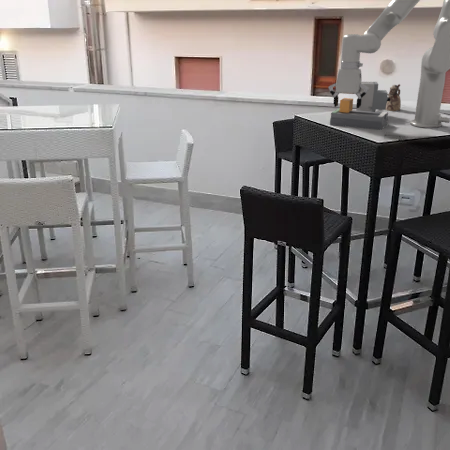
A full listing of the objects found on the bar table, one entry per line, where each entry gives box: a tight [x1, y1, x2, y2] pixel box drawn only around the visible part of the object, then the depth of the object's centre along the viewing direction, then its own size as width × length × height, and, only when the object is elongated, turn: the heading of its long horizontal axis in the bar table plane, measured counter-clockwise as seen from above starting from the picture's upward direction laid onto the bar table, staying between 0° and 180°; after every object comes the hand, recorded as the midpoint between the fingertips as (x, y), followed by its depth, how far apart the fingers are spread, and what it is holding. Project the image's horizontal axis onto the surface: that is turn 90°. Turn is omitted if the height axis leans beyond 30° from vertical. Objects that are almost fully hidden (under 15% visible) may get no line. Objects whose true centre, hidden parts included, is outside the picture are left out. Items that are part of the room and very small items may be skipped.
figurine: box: [385, 83, 402, 112], centre depth 238 cm, size 7×7×12 cm
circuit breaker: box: [355, 81, 390, 112], centre depth 225 cm, size 8×14×15 cm, turn 78°
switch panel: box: [329, 107, 389, 130], centre depth 211 cm, size 22×11×5 cm, turn 61°
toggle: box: [339, 97, 354, 113], centre depth 212 cm, size 4×6×7 cm, turn 151°
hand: (346, 106), depth 212 cm, fingers open, 9 cm apart
